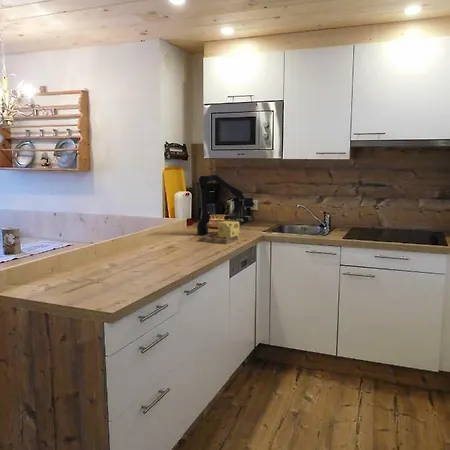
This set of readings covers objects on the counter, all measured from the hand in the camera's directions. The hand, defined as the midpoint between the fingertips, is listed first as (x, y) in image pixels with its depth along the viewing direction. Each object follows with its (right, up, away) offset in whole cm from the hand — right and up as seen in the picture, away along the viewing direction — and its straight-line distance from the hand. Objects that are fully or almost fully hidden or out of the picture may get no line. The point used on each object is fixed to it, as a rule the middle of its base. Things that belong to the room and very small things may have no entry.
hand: (238, 230), depth 300 cm
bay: (-13, -6, -22) cm, 26 cm away
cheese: (-7, -4, -11) cm, 14 cm away
